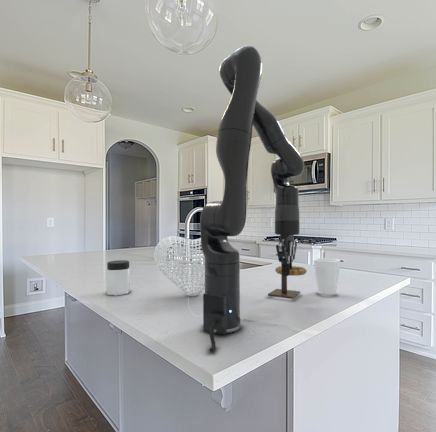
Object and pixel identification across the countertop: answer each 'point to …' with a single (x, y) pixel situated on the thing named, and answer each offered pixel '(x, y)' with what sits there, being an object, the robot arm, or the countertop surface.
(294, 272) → the ring
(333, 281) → the foam cup
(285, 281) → the post
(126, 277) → the jar
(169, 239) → the heart
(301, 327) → the countertop surface
